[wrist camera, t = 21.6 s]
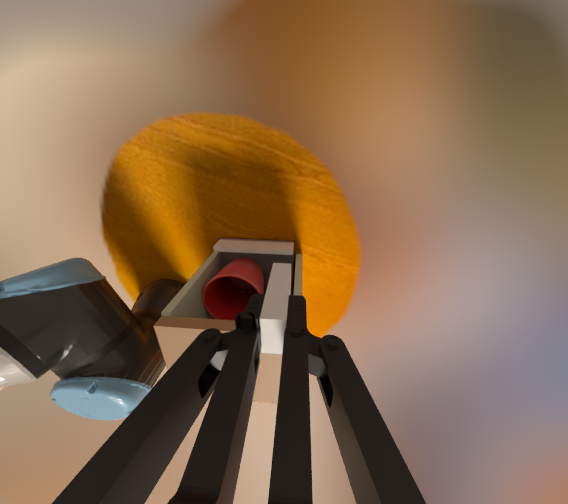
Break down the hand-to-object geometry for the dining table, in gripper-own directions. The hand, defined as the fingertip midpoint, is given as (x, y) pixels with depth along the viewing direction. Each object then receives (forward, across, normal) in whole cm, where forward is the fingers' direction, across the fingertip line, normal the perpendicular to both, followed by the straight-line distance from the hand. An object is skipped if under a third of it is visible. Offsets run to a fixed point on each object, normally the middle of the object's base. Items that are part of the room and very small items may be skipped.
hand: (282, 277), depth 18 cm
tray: (+24, -7, -14) cm, 29 cm away
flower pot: (+23, -9, -14) cm, 29 cm away
